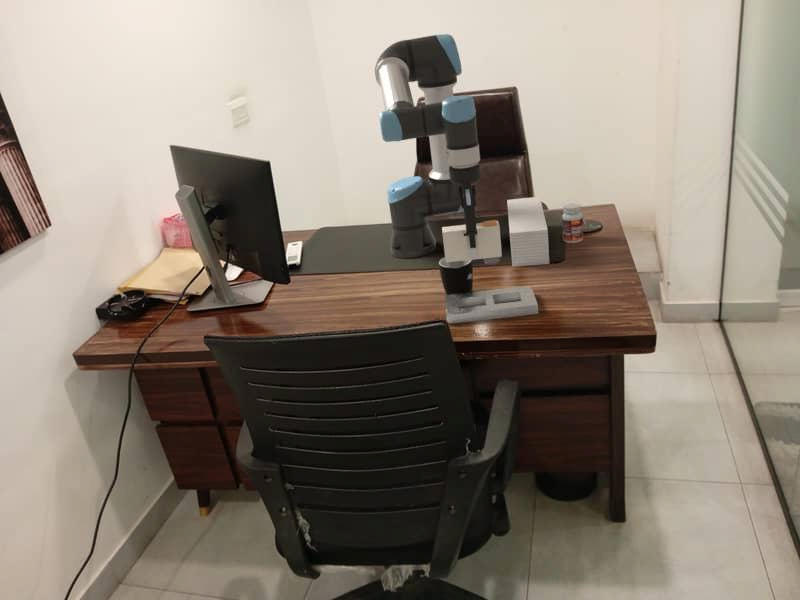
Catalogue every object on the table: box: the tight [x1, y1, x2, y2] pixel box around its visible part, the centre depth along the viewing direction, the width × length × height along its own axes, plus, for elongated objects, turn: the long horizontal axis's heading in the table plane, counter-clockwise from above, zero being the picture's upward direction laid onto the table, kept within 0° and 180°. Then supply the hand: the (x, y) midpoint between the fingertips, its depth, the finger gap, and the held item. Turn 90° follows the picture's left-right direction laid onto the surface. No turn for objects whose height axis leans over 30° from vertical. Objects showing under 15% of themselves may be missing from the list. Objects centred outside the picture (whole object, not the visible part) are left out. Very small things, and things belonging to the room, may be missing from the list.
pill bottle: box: [561, 202, 584, 244], centre depth 207 cm, size 6×6×11 cm
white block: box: [441, 219, 503, 268], centre depth 167 cm, size 4×14×10 cm, turn 88°
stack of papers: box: [506, 196, 550, 267], centre depth 208 cm, size 32×11×11 cm, turn 173°
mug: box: [438, 257, 474, 295], centre depth 184 cm, size 12×9×10 cm
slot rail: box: [443, 285, 539, 325], centre depth 174 cm, size 12×23×2 cm, turn 89°
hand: (473, 255), depth 169 cm, fingers closed on white block, 4 cm apart
